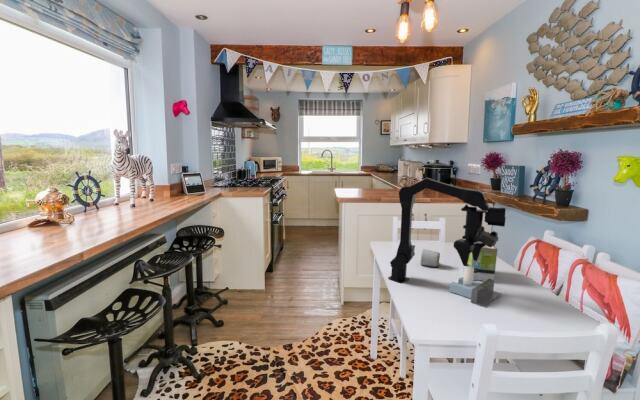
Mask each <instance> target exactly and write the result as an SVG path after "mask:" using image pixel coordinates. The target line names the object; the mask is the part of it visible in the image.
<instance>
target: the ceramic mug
mask: <svg viewBox="0 0 640 400" xmlns="http://www.w3.org/2000/svg"><path fill="white" fill-rule="evenodd" d="M440 256H441V253H440V252H439V251H435V250H431V249H427V248H422V250H421V256H420V265H421V266H426V267H427V266H428V267H433V268H438V267H439V265H440V258H441V257H440Z"/></svg>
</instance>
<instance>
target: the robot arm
mask: <svg viewBox="0 0 640 400" xmlns="http://www.w3.org/2000/svg"><path fill="white" fill-rule="evenodd" d="M427 189H428V190H431V191H434V192H438V193H440V194H443V195H447V196H451V197H454V198H456V199H459V200H460V201H462V202H463V203H465V205H464V206H463V207H461V208H460V210H461V211H462V212H465V213H466V215H465V224H464V225H462V228H463V229H464V234H463V235H462V237H461V238H459V239H456V240H455V241H453V248H454V249H455V250H456V252H457V253H458V256H459V259H460V260H461V263H462V266H463V265H464V266H467V263H468V259H469V255H470V253H471V252H472V256H473V260H474V261H477V259H478V257H479V254H480V252H481V250H482V248H483V247H484V246H486V245H487V246H488V247H492V246H495V247H496V244H497V242H499V238H500V237H499V236H498V232H496V231H491V232H490V231H485V227H484V226H483V222H485V223H486V224H487V226H496V227H502V228H503V227H505V226H506V210H507V209H506V207H495V206H489V203H487V201H486V200H485V197H486V196H485V193H484V192H483V191H482V190H480V189H475V188H467V187H459V186H456V185H452V184H448V183H445V182H441V181H438V180H435V179H433V178H430V177H425V178H423V179H422V180H421V181H418V182H417V183H414V184H413V185H410V184H408V185H405V186H402V187H401V188H400V189H399V190H398V197H399V203H400V207H401V215H400V217H401V218H400V237H399V239H400V241H399V245H398V248H397V250H396V255H395V257H394V258H393V259H391V260H390V262H389V264H390V266H391V276H388V277H387V279H388V280H390V281H391V280H392V281H394V282H397V283H400V284H402V283H404V282H406V281H408V280H410V277H407V271H408V270H407V265H408V264H409V263H410V261H411V260H412V259H413V257H414V256H415V255H416V253H415V248H416V245H413V244H412V241H411V240H412V238H411V237H412V225H413V224H412V223H413V220H412V218H413V207H414V204H415V200H416V197H417V194H418V193H420V192H422V191H424V190H427ZM478 208H479V209H478ZM483 218H484V219H483Z"/></svg>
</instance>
